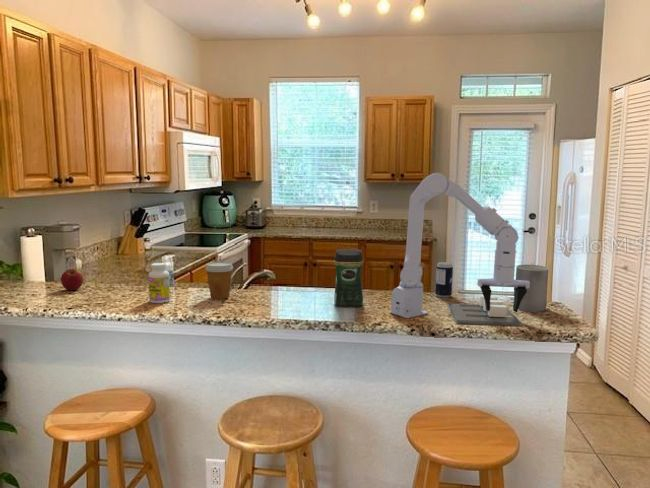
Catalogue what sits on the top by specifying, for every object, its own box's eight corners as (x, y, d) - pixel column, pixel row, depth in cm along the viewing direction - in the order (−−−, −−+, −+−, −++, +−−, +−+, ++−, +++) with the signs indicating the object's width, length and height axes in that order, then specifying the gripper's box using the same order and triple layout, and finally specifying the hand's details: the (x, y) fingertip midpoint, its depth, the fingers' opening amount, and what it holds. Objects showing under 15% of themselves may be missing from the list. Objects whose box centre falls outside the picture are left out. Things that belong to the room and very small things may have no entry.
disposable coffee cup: (239, 296, 173) (238, 263, 171) (220, 302, 165) (219, 267, 163) (219, 293, 178) (219, 260, 176) (200, 298, 170) (199, 264, 168)
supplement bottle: (145, 302, 164) (143, 264, 162) (158, 298, 170) (157, 261, 168) (161, 304, 161) (159, 266, 160) (174, 300, 167) (173, 263, 166)
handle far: (480, 306, 157) (481, 297, 157) (479, 304, 160) (479, 295, 159) (497, 306, 157) (497, 297, 156) (495, 304, 159) (495, 295, 159)
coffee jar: (362, 301, 167) (363, 247, 164) (363, 308, 159) (364, 251, 156) (333, 301, 167) (334, 247, 165) (333, 307, 159) (334, 251, 157)
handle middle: (484, 311, 151) (485, 301, 151) (483, 309, 154) (483, 299, 153) (501, 311, 151) (502, 302, 150) (499, 309, 153) (500, 300, 153)
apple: (56, 292, 178) (54, 270, 177) (71, 287, 186) (69, 266, 185) (75, 293, 176) (73, 271, 175) (89, 288, 184) (88, 267, 183)
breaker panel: (456, 323, 143) (456, 319, 142) (447, 306, 161) (448, 303, 161) (520, 325, 141) (520, 322, 140) (504, 308, 159) (504, 305, 159)
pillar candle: (519, 303, 167) (521, 259, 165) (550, 307, 161) (552, 262, 158) (509, 309, 159) (511, 263, 157) (541, 314, 153) (543, 267, 151)
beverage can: (452, 298, 172) (453, 264, 171) (435, 297, 174) (436, 264, 172) (451, 294, 178) (452, 262, 176) (435, 294, 179) (436, 261, 178)
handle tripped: (489, 316, 146) (489, 306, 145) (487, 314, 148) (488, 304, 147) (506, 317, 145) (507, 307, 145) (504, 314, 147) (505, 305, 147)
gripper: (481, 267, 141) (479, 313, 143) (534, 269, 140) (530, 315, 141) (477, 263, 148) (474, 306, 150) (527, 264, 146) (523, 309, 148)
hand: (501, 310), depth 146 cm, fingers open, 7 cm apart
